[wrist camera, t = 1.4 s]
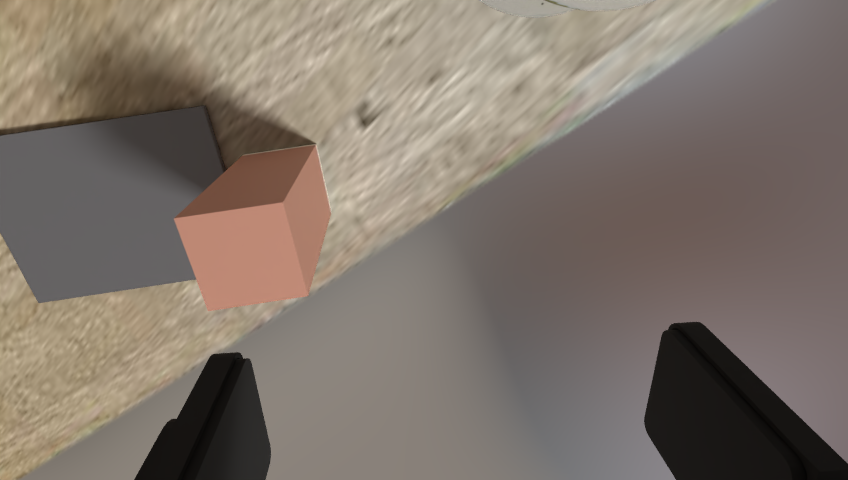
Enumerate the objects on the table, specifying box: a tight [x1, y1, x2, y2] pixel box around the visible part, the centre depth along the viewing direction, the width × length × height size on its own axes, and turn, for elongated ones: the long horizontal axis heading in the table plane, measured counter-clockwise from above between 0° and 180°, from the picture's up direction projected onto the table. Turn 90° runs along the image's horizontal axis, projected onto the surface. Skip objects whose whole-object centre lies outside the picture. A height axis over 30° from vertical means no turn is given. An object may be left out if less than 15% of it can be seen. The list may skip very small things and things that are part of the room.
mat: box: [0, 106, 226, 303], centre depth 33 cm, size 16×12×1 cm
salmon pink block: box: [174, 144, 332, 311], centre depth 28 cm, size 5×5×12 cm
